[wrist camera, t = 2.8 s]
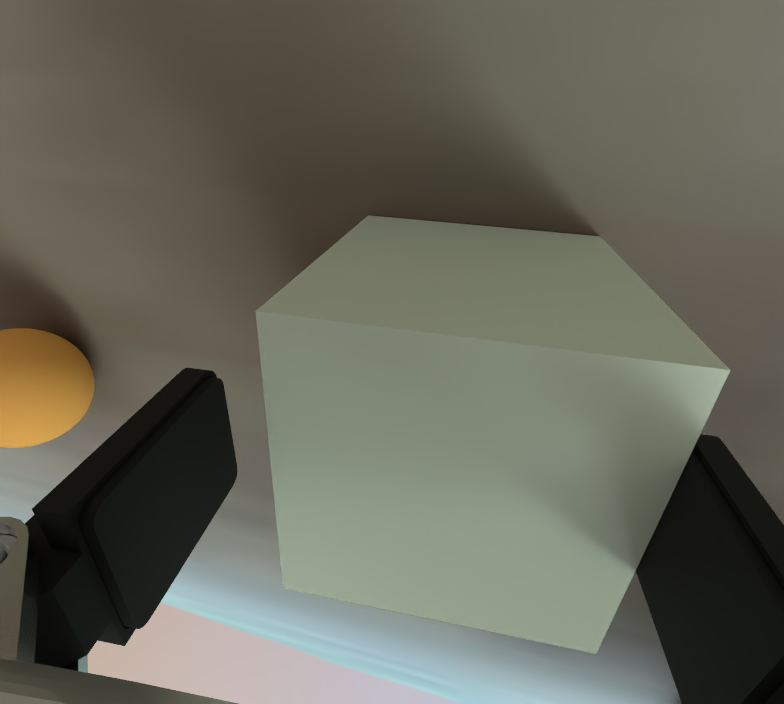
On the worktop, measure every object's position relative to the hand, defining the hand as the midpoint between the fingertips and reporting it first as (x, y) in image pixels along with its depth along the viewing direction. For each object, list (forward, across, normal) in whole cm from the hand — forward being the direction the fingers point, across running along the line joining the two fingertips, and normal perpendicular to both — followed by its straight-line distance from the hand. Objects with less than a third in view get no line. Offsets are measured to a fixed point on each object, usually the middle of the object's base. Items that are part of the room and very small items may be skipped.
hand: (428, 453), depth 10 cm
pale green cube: (+8, -1, +1) cm, 8 cm away
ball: (+6, +17, +5) cm, 19 cm away
